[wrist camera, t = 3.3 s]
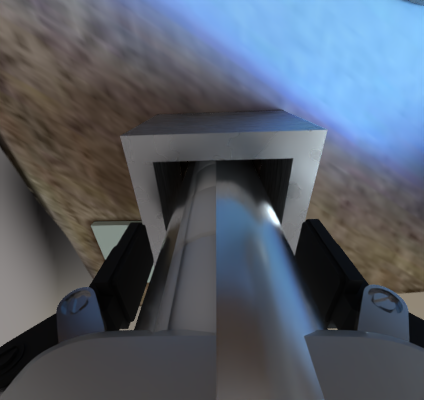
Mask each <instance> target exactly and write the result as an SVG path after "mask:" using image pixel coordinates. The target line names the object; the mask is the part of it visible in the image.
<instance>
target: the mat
mask: <svg viewBox="0 0 424 400" xmlns="http://www.w3.org/2000/svg"><path fill="white" fill-rule="evenodd" d="M131 222H141V223H142V221H99V222H93V224H92V225H91V228H92V230H93V232H94V235H95V237H96V239H97V242H98V244H99V246H100V249H101V251H102V254H103V256H104V258H105V260H106V258H107V257H108V255H109V253H110V252H111V250H112V249H113V247H114V246H116V245H117V244H118V242H119V240H120V239H121V237H122V235H123V234H124V232H125V230H126V229H127V227H128V225H129V224H130V223H131ZM142 224H143V223H142ZM153 271H154V265H153V266H152V269H151V272H150V275H149V278H148V281H147V282H150V280H151V277H152V274H153Z"/></svg>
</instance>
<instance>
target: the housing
mask: <svg viewBox="0 0 424 400" xmlns="http://www.w3.org/2000/svg"><path fill="white" fill-rule="evenodd" d="M326 133H327V129H325V128H322V127H320V126H318V125H315V124H313V123H311V122H309V121H306V120H304V119H302V118H300V117H297V116H295V115H293V114H291V113H288V112H286V111H284V110H278V111H248V112H218V113H188V114H158V115H155V116H154V117H152V118H150V119H149V120H147V121H145V122H143V123H142V124H140V125H138V126H136V127H135V128H133V129H131V130H130V131H128V132H126V133H124V134H123V135H121V136H120V138H121V142H122V146H123V150H124V153H125V157H126V161H127V165H128V169H129V173H130V177H131V180H132V184H133V188H134V192H135V196H136V200H137V204H138V207H139V211H140V215H141V219H142V223H143V225H145V226H146V230H147V234H148V238H149V242H150V246H151V250H152V254H153V258H154V263H153V265H154V268H155V265H156V262H157V259H158V255H159V252H160V249H161V246H162V243H163V240H164V237H165V234H166V231H167V228H168V225H169V222H170V219H171V216H172V213H173V210H174V207H175V204H176V201H177V198H178V195H179V191H180V188H181V185H182V176H181V168H180V161H206V160H245V159H261V168H260V180H261V182H262V184H263V186H264V189H265V191H266V193H267V195H268V198H269V200H270V202H271V204H272V207H273V209H274V211H275V213H276V215H277V218H278V220H279V222H280V224H281V227H282V229H283V231H284V233H285V235H286V238H287V240H288V242H289V244H290V247H291V249H292V251H293V253H294V256H295V252H296V248H297V244H298V239H299V235H300V231H301V227H302V223H303V222H305V218H306V214H307V210H308V206H309V202H310V198H311V194H312V190H313V186H314V182H315V178H316V174H317V170H318V166H319V162H320V158H321V154H322V150H323V146H324V142H325V138H326Z"/></svg>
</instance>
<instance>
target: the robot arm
mask: <svg viewBox="0 0 424 400" xmlns="http://www.w3.org/2000/svg"><path fill="white" fill-rule="evenodd" d="M409 1H410V2H413V3H416V4H420V5H423V6H424V0H409ZM295 258H296V260H297V262H298V264H299V267H300V269H301V271H302V273H303V276H304V278H305V280H306V282H307V285H308V287H309V289H310V291H311V293H312V296H313V298H314V300H315V302H316V305H317V307H318V309H319V311H320V313H321V316H322V318H323V320H324V322H325V325H326V327H327V328H337V329H338V330H316V331H315V332H312V333H310V334H307V335H305V336H304V338H305V341H306V344H307V347H308V350H309V354H310V357H311V360H312V363H313V366H314V369H315V372H316V376H317V379H318V382H319V385H320V388H321V390H322V393H323V396H324V399H325V400H424V320H422V319H420V318H419V317H416V316H415V315H413V314H411V313H409V312H408V308H407V305H406V303H405V302H404V300H403V299H402V298H401V297H399V296H398V295H397V294H396V293H394V292H393V291H391V290H389V289H388V288H385V287H382V286H379V285H369V284H368V283H367V282H366V280H365V279H364V278H363V276H362V275H361V274H360V272H359V271H358V270H357V269H356V267H355V266H354V265H353V263H352V262H351V261H350V259H349V258H348V257H347V255H346V254H345V253H344V251H343V250H342V249H341V247H340V246H339V245H338V244H337V243H336V242H335V240H334V239H333V238H332V236H331V235H330V234H329V232H328V231H327V230H326V228H325V227H324V226H323V224H322V223H321V222H320V220H319V219H307V220H306V221H305V222H303V223H302V227H301V231H300V235H299V239H298V244H297V248H296V252H295ZM153 263H154V258H153V254H152V250H151V246H150V242H149V238H148V234H147V230H146V226H145V225H143V224H142V223H141V222H131V223H130V224H129V225H128V227H127V229H126V230H125V232H124V234H123V235H122V237H121V239H120V240H119V242H118V244H117V245H116V246H114V247H113V249H112V250H111V252H110V253H109V255H108V257H107V258H106V260H105V262H104V263H103V265H102V266H101V268H100V270H99V271H98V273H97V275H96V276H95V278H94V279H93V281H92V283H91V284H90V286H89V287H83V288H79V289H76V290H74V291H72V292H70V293H69V294H68V295H66V296H65V297H64V298H63V299H62V300H61V301H60V303H59V305H58V307H57V312H56V314H54V315H52V316H51V317H49V318H47V319H46V320H44V321H42V322H41V323H39V324H37V325H36V326H34V327H32V328H31V329H29V330H27V331H26V332H24V333H22V334H21V335H19V336H17V337H16V338H14V339H12V340H11V341H9V342H7V343H6V344H4V345H3V346H1V347H0V400H216V333H213V332H203V331H194V330H161V331H158V332H155V333H153V332H151V331H149V330H125V331H124V330H123V331H119V329H128V328H129V325H130V322H132V321H134V319H135V316H136V313H137V310H138V308H139V305H140V302H141V299H142V296H143V293H144V290H145V287H146V284H147V281H148V278H149V275H150V272H151V269H152V266H153Z"/></svg>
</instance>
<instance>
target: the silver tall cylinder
mask: <svg viewBox="0 0 424 400" xmlns="http://www.w3.org/2000/svg"><path fill="white" fill-rule="evenodd" d="M134 330H149V331H151V332H153V333H155V332H158V331H161V330H194V331H203V332H213V333H216V400H325V399H324V396H323V393H322V390H321V388H320V385H319V382H318V379H317V376H316V372H315V369H314V366H313V363H312V360H311V357H310V354H309V350H308V347H307V344H306V341H305V338H304V336H305V335H307V334H310V333H312V332H315V331H316V330H328V329H327V327H326V325H325V322H324V320H323V318H322V316H321V313H320V311H319V309H318V307H317V305H316V302H315V300H314V298H313V296H312V293H311V291H310V289H309V287H308V285H307V282H306V280H305V278H304V276H303V273H302V271H301V269H300V267H299V264H298V262H297V260H296V258H295V256H294V253H293V251H292V249H291V247H290V244H289V242H288V240H287V238H286V235H285V233H284V231H283V229H282V227H281V224H280V222H279V220H278V218H277V215H276V213H275V211H274V209H273V207H272V204H271V202H270V200H269V198H268V195H267V193H266V191H265V189H264V186H263V184H262V182H261V180H260V178H259V175H258V173H257V171H256V169H255V166H254V164H253V162H252V160H251V159H245V160H206V161H189V164H188V167H187V170H186V173H185V176H184V179H183V182H182V185H181V188H180V191H179V195H178V198H177V201H176V204H175V207H174V210H173V213H172V216H171V219H170V222H169V225H168V228H167V231H166V234H165V237H164V240H163V243H162V246H161V249H160V252H159V255H158V259H157V262H156V265H155V268H154V271H153V274H152V277H151V280H150V283H149V286H148V289H147V292H146V295H145V298H144V301H143V304H142V307H141V310H140V313H139V316H138V320H137V323H136V326H135V329H134Z"/></svg>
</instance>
